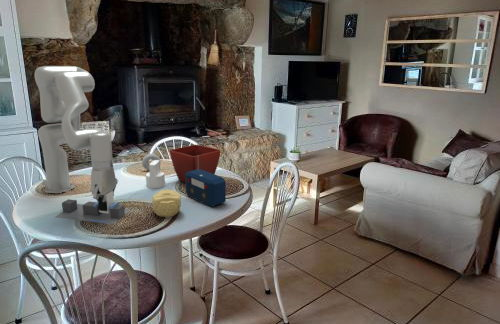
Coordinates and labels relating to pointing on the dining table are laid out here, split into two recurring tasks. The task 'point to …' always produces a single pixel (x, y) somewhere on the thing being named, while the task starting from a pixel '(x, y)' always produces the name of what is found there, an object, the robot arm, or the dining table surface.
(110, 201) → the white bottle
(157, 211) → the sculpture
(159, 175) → the cylinder with rectangular tab
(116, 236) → the dining table surface
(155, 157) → the donut
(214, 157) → the plant pot
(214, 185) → the radio
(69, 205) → the grey toy block board
